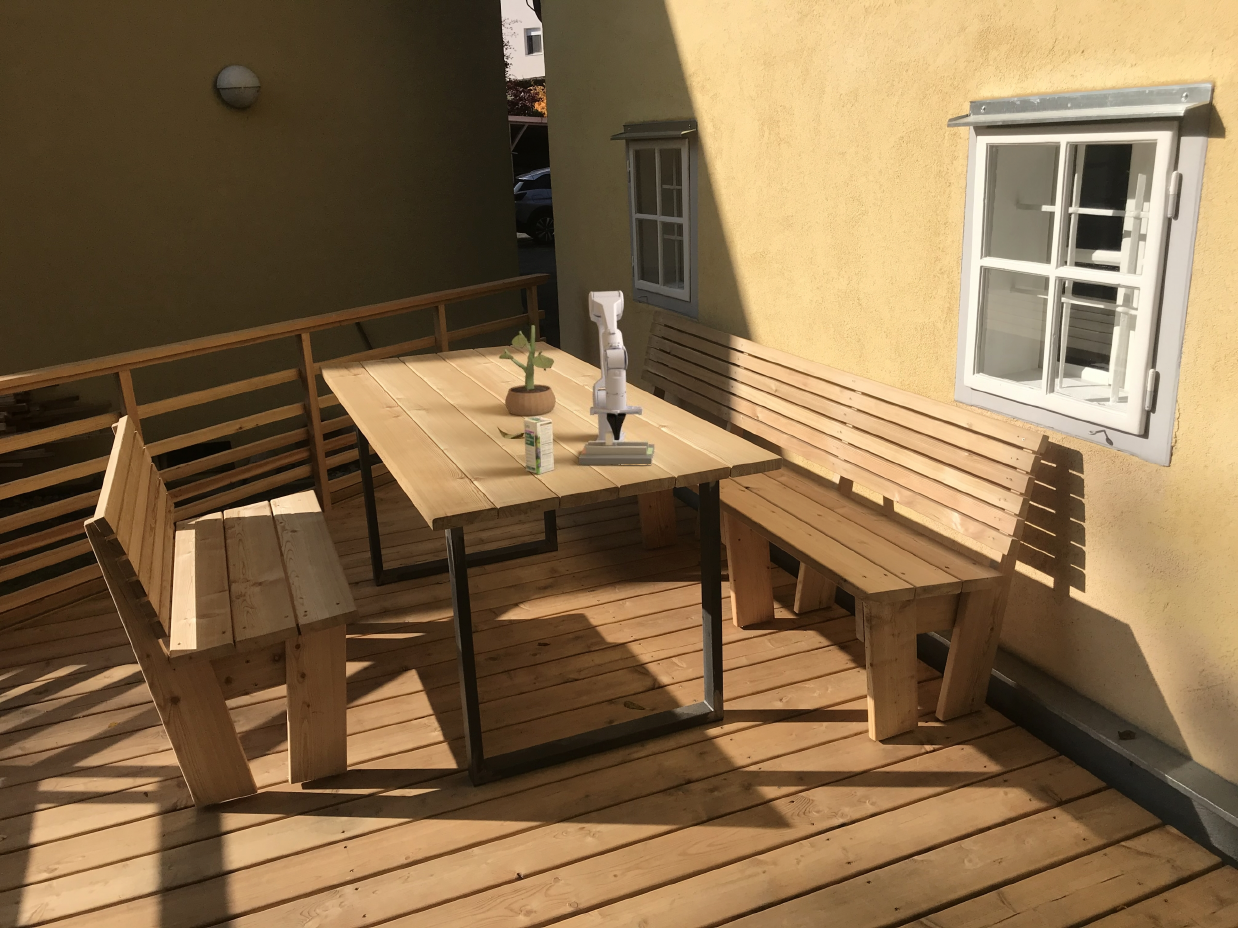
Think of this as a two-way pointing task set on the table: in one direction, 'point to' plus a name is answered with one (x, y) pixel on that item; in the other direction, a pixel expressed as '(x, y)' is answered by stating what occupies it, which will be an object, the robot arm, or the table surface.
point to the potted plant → (529, 382)
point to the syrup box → (538, 444)
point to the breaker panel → (617, 453)
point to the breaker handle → (609, 439)
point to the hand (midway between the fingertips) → (617, 439)
